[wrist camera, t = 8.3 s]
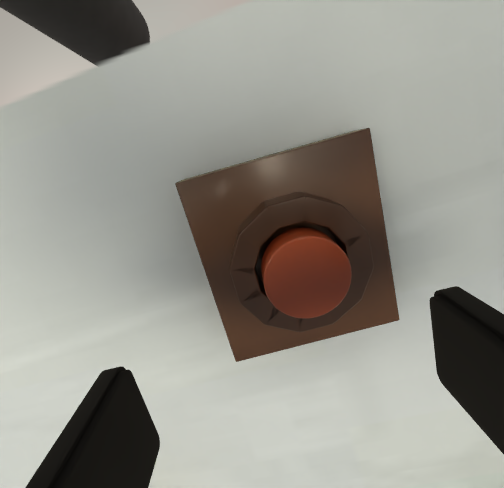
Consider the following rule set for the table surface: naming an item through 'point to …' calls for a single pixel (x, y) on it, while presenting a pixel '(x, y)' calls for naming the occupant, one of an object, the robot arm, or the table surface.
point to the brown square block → (283, 219)
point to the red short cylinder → (305, 273)
